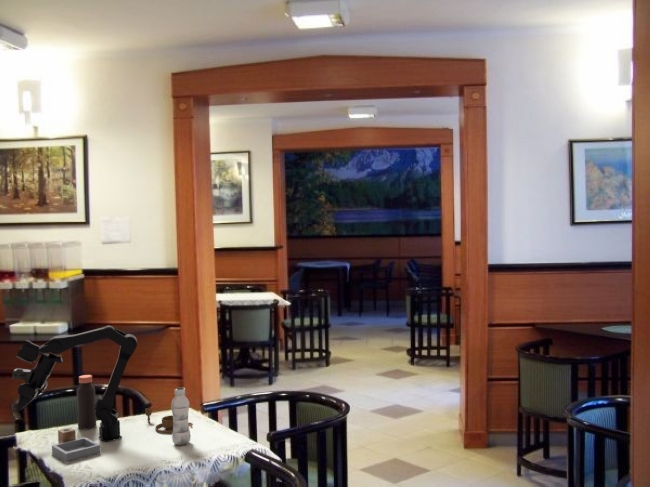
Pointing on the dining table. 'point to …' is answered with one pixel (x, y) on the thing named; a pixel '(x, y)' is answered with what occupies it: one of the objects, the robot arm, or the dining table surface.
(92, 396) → the vinegar
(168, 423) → the place setting
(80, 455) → the charcoal tray
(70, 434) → the walnut block
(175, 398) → the plastic bottle
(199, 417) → the dining table surface
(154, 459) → the dining table surface
